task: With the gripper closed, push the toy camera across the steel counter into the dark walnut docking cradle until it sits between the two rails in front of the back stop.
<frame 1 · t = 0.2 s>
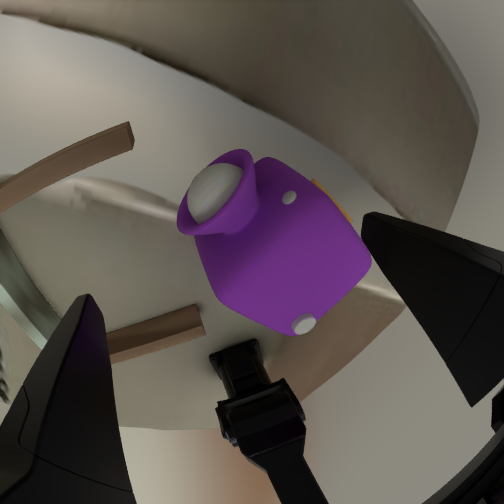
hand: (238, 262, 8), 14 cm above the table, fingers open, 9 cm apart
walnut dock: (84, 266, 22), on the table
toy camera: (245, 208, 24), on the table
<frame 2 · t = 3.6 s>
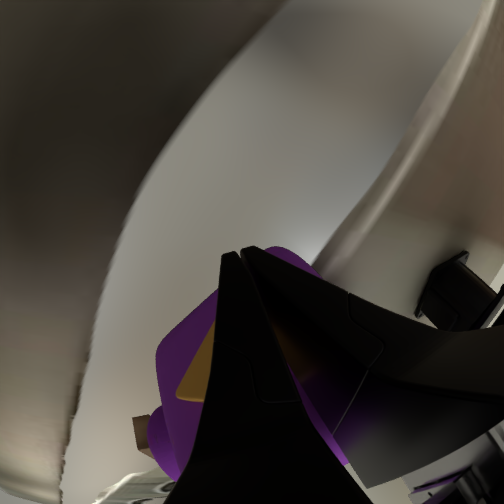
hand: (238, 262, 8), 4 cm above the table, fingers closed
walnut dock: (256, 418, 25), on the table
toy camera: (235, 337, 17), on the table, touching gripper
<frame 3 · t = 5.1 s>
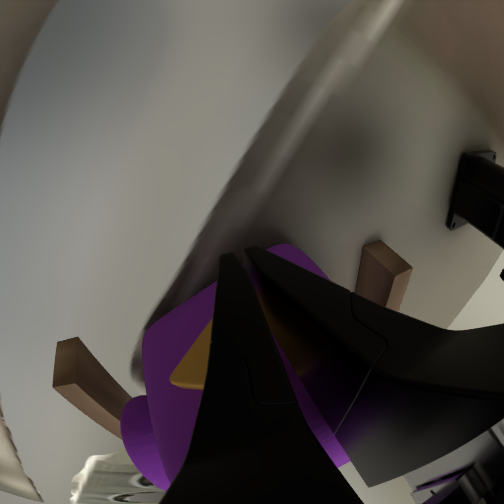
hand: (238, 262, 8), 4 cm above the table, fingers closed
walnut dock: (245, 370, 19), on the table
toy camera: (222, 335, 16), on the table, touching gripper
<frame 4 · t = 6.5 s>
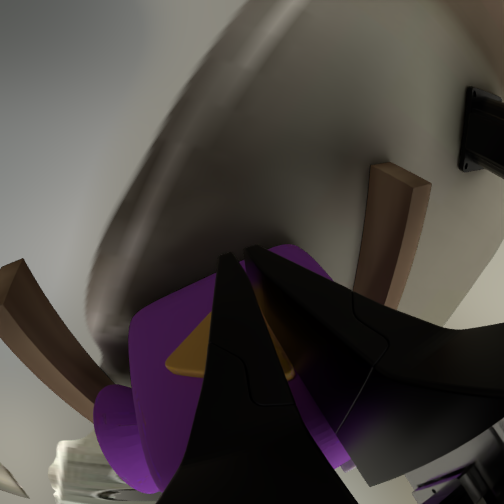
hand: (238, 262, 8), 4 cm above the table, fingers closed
walnut dock: (230, 327, 16), on the table
toy camera: (208, 333, 16), on the table, touching gripper
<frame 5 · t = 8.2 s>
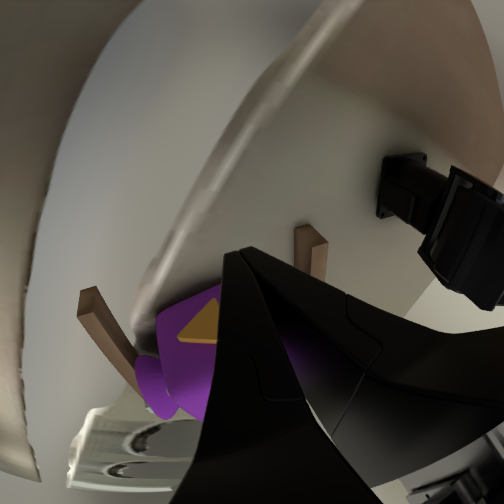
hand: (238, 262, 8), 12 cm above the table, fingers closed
walnut dock: (213, 322, 27), on the table
toy camera: (199, 324, 27), on the table
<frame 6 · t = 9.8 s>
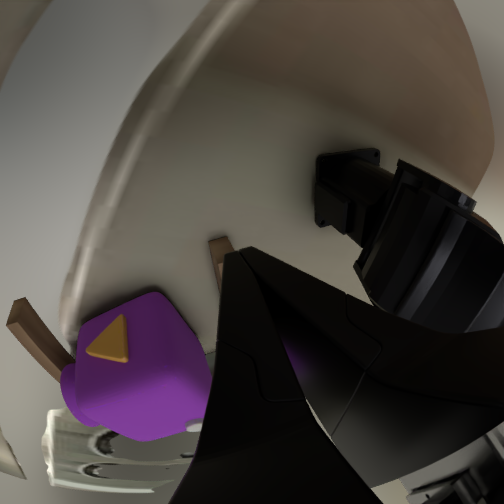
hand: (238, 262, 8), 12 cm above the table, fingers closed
walnut dock: (140, 335, 25), on the table
toy camera: (128, 337, 25), on the table
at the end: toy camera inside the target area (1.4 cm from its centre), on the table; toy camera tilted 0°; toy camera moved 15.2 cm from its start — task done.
